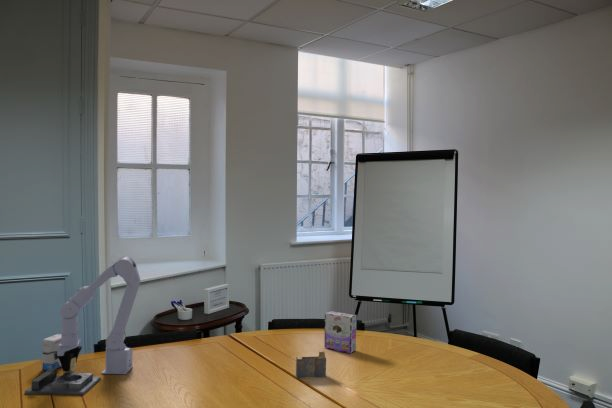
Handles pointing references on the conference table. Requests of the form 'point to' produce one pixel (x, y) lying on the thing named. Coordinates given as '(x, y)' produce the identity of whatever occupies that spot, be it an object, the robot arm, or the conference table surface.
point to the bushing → (72, 366)
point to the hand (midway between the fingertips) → (69, 368)
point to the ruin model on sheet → (311, 366)
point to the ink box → (51, 352)
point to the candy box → (340, 331)
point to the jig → (62, 383)
